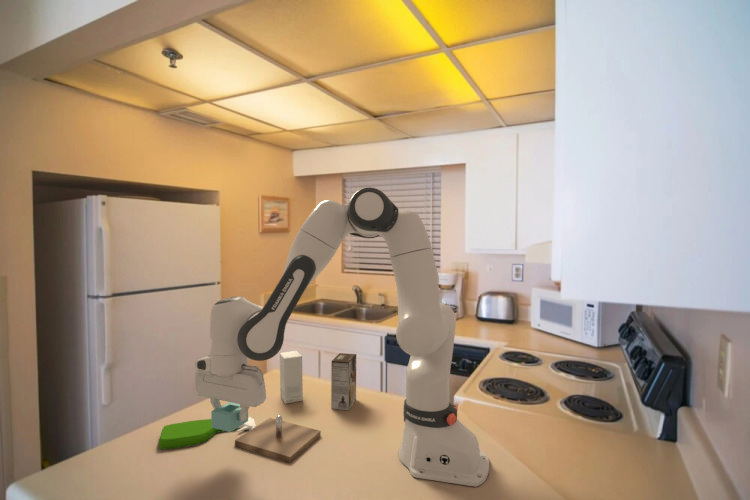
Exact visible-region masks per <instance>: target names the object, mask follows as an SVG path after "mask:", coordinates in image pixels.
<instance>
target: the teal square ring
mask: <svg viewBox="0 0 750 500" xmlns="http://www.w3.org/2000/svg"><path fill="white" fill-rule="evenodd" d="M241 409H242V408H240V404H237V403H232V402H226V403H224V404H223V405H222V404H221V406H220V407H219V408H217V409H215V410H214V409H213V410H211V413H210V414H211V418H210V419H212V428H216V429H220V430H224V431H223V432H228V433H231V432H232V431H235V430H234V429H236V428H238V427H239V426H241V425H243V424H244V423H246V422H247V421H248V418H249V410H248V411H247V412H246V415H247V418H246V420H244V421H238V420H237V414H238V413H240V411H241ZM238 429H239V428H238ZM236 430H237V429H236Z"/></svg>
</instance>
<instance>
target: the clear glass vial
mask: <svg viewBox="0 0 750 500" xmlns="http://www.w3.org/2000/svg"><path fill="white" fill-rule="evenodd" d="M275 419H276V436H277V437H280V436H282V421H283V417H282V415H277V416H276V417H275Z"/></svg>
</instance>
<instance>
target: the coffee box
mask: <svg viewBox="0 0 750 500" xmlns="http://www.w3.org/2000/svg"><path fill="white" fill-rule="evenodd" d="M330 376H331V377H330V378H331V384H330V387H331V389H330V390H331V395H330V396H331V399H330V400H331V401H330V405H331V406H330V408H331V409H332V410H341V411H350V410H351V408H352V406H353V404H354V403H355V401H356V399H357V354H356V353H342V352H341V353H340V352H339V353H338V354H337V355H336V356H335V357H334V358H333V359H332V360H331V375H330Z"/></svg>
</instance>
